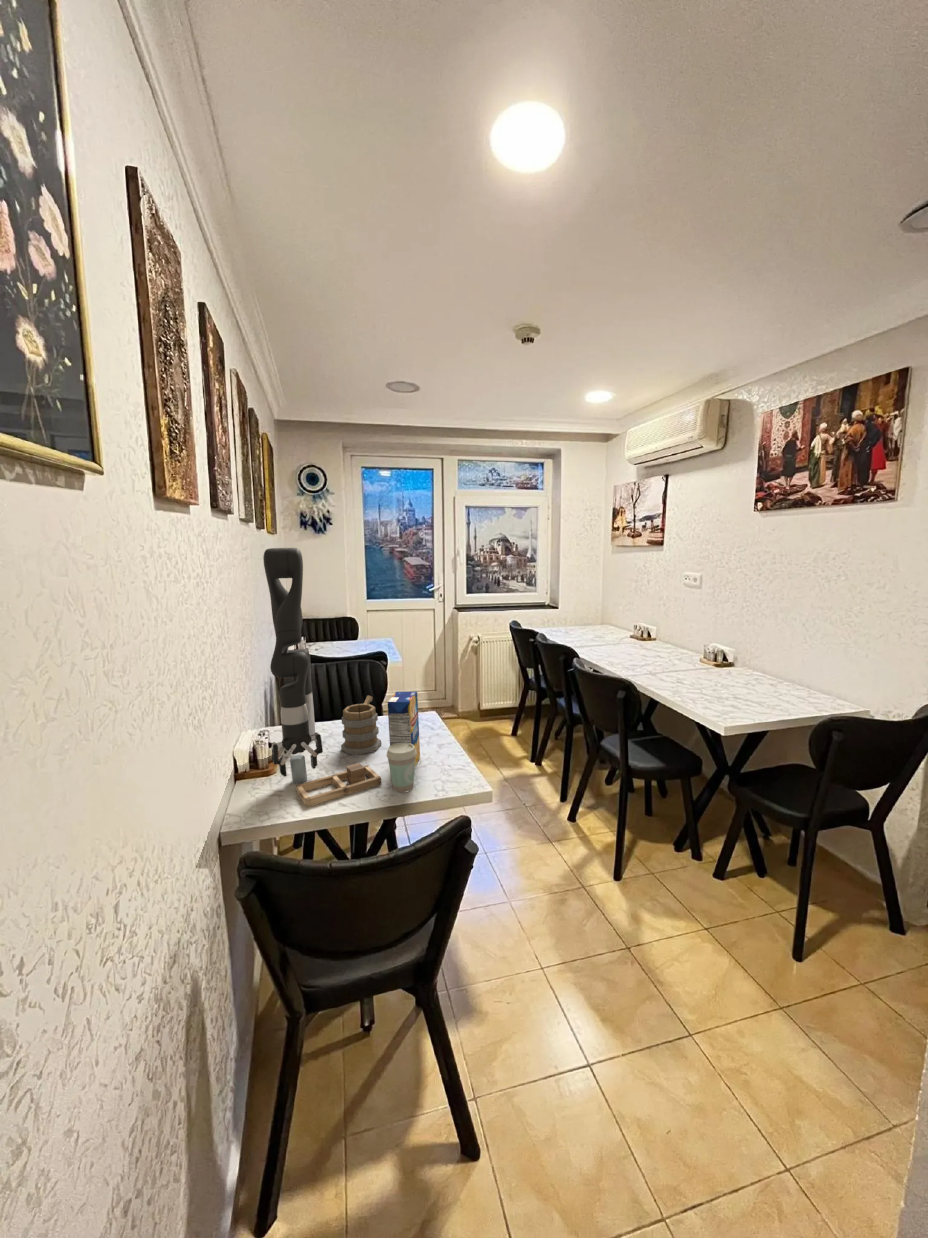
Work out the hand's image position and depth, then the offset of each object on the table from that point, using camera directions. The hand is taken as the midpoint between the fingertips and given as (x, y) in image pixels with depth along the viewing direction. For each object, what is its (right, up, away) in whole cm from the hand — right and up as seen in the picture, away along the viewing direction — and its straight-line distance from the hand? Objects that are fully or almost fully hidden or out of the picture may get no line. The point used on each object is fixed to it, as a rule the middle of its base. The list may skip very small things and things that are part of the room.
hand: (299, 771), depth 147 cm
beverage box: (+31, -1, +10) cm, 32 cm away
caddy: (+13, -3, -5) cm, 14 cm away
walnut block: (+18, -3, -2) cm, 18 cm away
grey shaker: (0, -3, +1) cm, 3 cm away
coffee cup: (+32, -3, -6) cm, 32 cm away
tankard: (+14, +1, +28) cm, 31 cm away
